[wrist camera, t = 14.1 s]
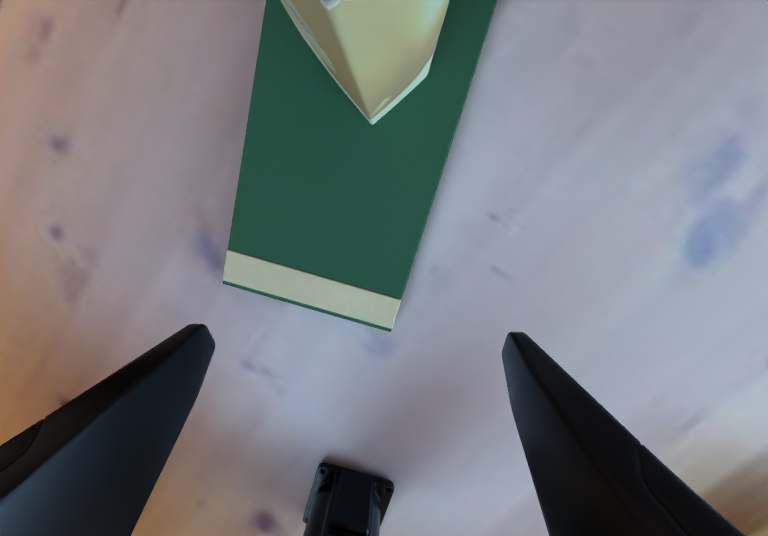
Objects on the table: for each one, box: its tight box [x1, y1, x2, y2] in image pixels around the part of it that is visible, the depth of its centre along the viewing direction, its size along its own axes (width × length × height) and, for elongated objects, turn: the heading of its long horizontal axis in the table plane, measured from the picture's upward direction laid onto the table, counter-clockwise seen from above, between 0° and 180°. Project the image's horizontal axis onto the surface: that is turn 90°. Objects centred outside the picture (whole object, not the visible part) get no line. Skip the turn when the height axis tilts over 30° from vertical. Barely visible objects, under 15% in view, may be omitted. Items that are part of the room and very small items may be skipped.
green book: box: [222, 0, 497, 332], centre depth 19 cm, size 20×12×1 cm, turn 164°
